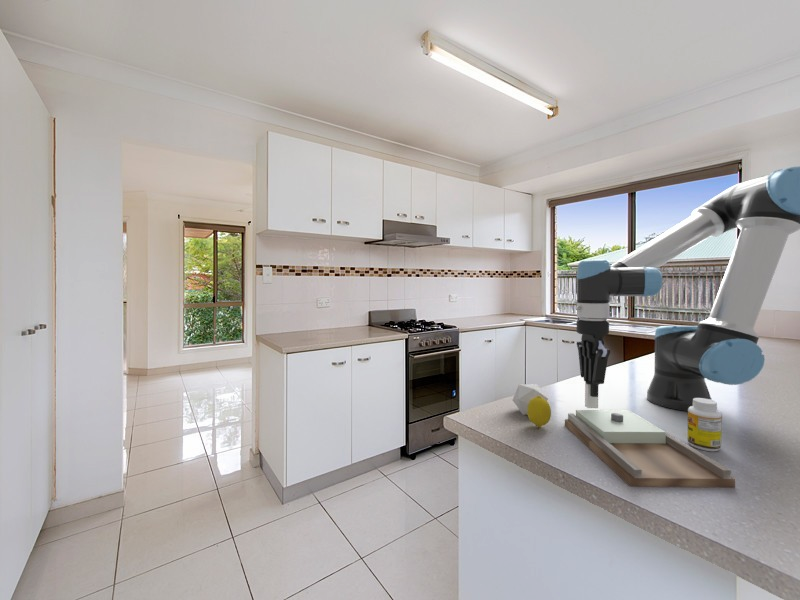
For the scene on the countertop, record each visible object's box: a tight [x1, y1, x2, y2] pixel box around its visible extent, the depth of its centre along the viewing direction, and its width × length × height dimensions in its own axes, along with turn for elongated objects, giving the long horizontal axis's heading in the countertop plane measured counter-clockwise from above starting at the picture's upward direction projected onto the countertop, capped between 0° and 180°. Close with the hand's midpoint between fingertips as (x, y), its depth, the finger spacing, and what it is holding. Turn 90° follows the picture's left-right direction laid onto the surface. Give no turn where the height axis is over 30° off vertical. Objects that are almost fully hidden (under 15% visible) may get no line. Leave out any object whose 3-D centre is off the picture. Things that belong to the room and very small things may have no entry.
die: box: [512, 383, 549, 416], centre depth 98 cm, size 8×9×10 cm
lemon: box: [527, 396, 552, 428], centre depth 88 cm, size 6×6×8 cm
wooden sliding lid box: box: [564, 412, 736, 488], centre depth 75 cm, size 18×27×3 cm, turn 178°
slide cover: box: [575, 409, 667, 443], centre depth 82 cm, size 13×13×4 cm
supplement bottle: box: [686, 398, 723, 452], centre depth 76 cm, size 6×6×10 cm
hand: (591, 407), depth 93 cm, fingers closed
